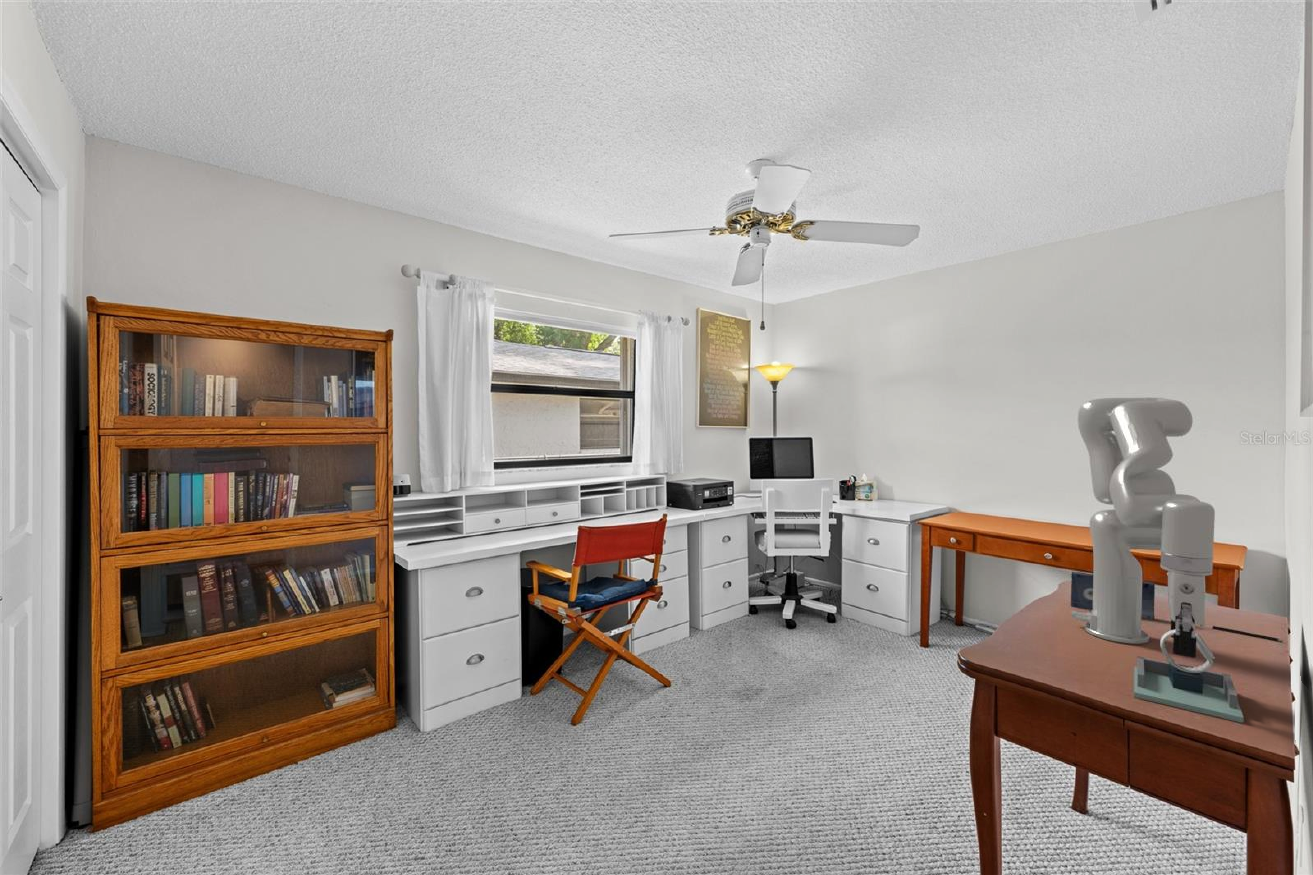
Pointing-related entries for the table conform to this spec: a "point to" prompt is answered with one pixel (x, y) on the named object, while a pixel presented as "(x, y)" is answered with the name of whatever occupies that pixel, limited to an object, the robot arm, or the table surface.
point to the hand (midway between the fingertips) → (1182, 647)
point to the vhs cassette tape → (1084, 594)
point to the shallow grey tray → (1213, 701)
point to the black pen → (1247, 634)
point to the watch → (1188, 675)
